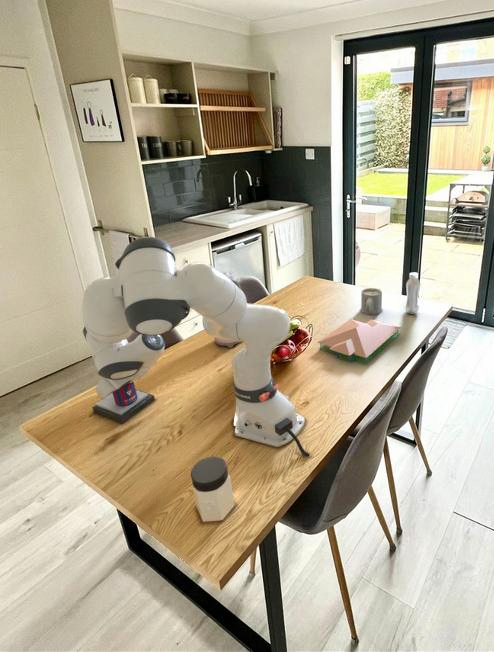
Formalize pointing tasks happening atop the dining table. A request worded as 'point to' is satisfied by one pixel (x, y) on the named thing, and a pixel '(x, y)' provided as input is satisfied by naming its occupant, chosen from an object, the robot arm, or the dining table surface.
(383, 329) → the house
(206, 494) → the jar
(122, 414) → the scale
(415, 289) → the plastic bottle
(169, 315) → the robot arm
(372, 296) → the coffee mug
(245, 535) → the dining table surface
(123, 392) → the cup
